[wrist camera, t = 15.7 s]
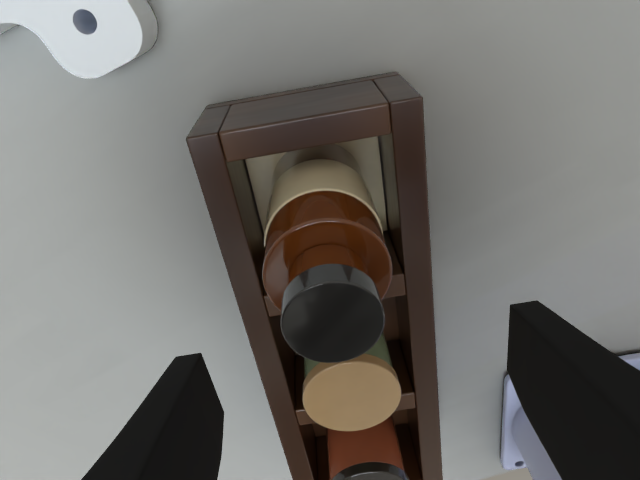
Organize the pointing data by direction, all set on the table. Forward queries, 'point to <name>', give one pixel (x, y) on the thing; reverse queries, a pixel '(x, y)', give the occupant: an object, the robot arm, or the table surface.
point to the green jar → (352, 390)
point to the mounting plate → (86, 31)
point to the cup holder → (398, 230)
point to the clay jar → (365, 453)
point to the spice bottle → (325, 255)
